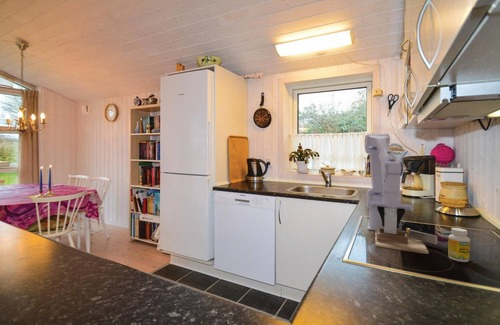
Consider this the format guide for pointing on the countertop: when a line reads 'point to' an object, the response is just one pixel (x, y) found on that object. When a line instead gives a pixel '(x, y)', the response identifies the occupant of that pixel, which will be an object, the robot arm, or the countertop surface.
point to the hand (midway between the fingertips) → (390, 227)
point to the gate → (421, 236)
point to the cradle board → (398, 241)
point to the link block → (390, 223)
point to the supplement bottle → (459, 245)
